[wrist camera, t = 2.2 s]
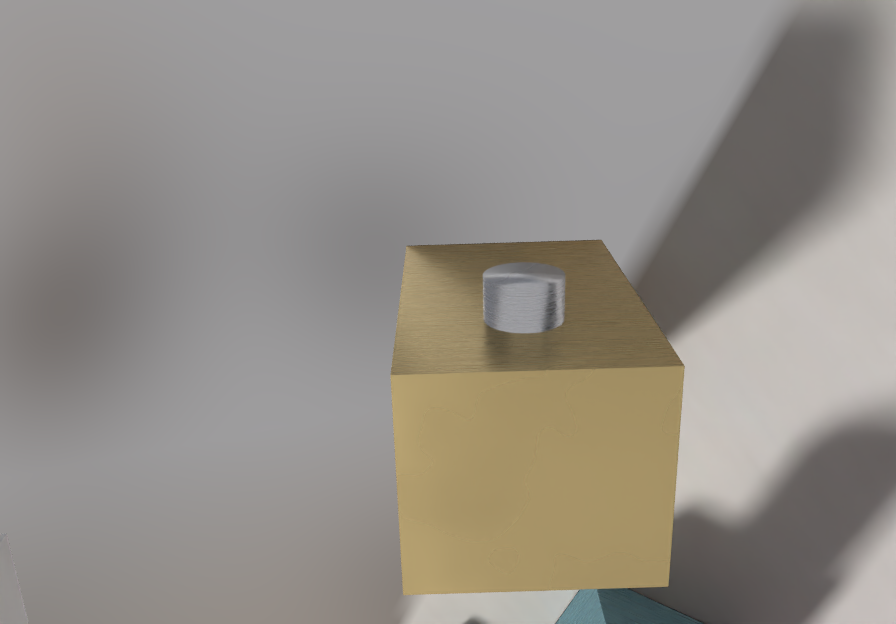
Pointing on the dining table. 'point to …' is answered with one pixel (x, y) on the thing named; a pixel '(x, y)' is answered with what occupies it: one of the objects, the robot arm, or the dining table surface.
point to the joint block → (531, 422)
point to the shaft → (619, 609)
